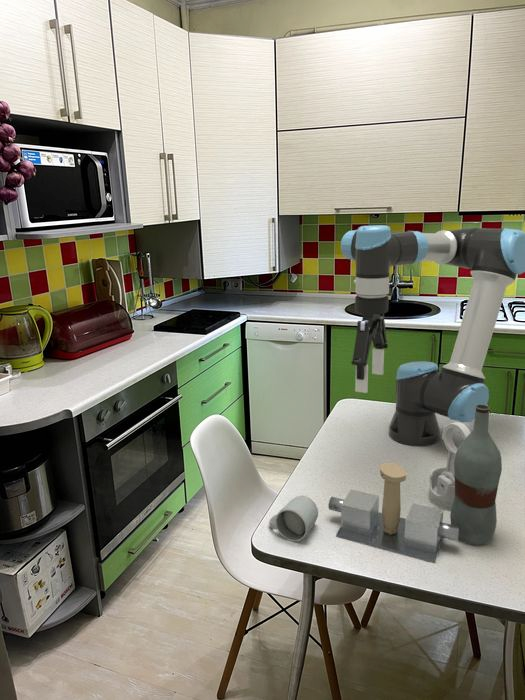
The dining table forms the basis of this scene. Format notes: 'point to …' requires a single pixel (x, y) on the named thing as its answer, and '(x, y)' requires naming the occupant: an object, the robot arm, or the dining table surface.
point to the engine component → (446, 470)
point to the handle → (391, 496)
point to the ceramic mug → (295, 518)
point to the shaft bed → (413, 532)
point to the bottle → (476, 483)
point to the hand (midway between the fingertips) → (369, 382)
